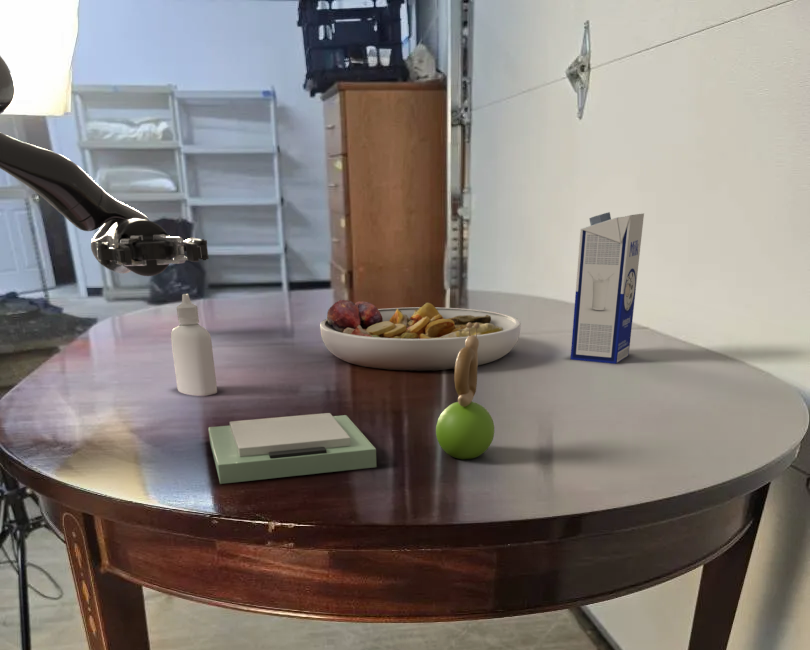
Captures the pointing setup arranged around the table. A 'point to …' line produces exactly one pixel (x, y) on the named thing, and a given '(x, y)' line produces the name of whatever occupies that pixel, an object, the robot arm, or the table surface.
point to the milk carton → (606, 288)
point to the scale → (288, 447)
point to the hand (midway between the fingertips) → (162, 254)
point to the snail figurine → (465, 409)
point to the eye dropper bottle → (192, 353)
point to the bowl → (414, 335)
